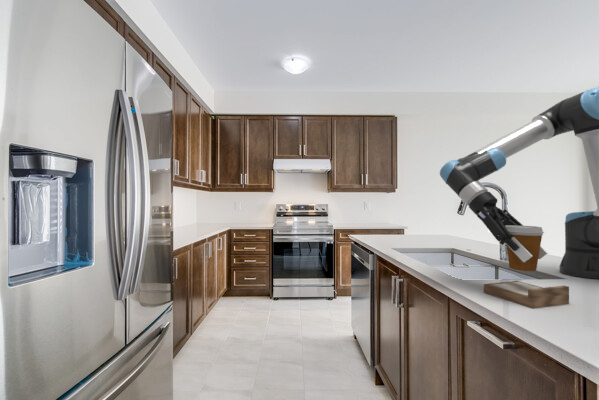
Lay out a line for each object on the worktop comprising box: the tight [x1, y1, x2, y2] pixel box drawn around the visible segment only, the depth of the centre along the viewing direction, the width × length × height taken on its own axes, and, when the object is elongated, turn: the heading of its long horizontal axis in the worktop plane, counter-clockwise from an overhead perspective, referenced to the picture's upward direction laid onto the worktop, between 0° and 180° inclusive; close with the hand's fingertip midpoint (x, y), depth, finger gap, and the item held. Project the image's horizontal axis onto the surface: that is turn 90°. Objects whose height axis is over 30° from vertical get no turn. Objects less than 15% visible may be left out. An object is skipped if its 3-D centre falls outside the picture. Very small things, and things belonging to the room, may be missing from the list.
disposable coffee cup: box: [505, 225, 545, 272], centre depth 93 cm, size 10×10×12 cm
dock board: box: [483, 280, 570, 309], centre depth 93 cm, size 13×15×4 cm
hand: (535, 257), depth 90 cm, fingers closed on disposable coffee cup, 8 cm apart
